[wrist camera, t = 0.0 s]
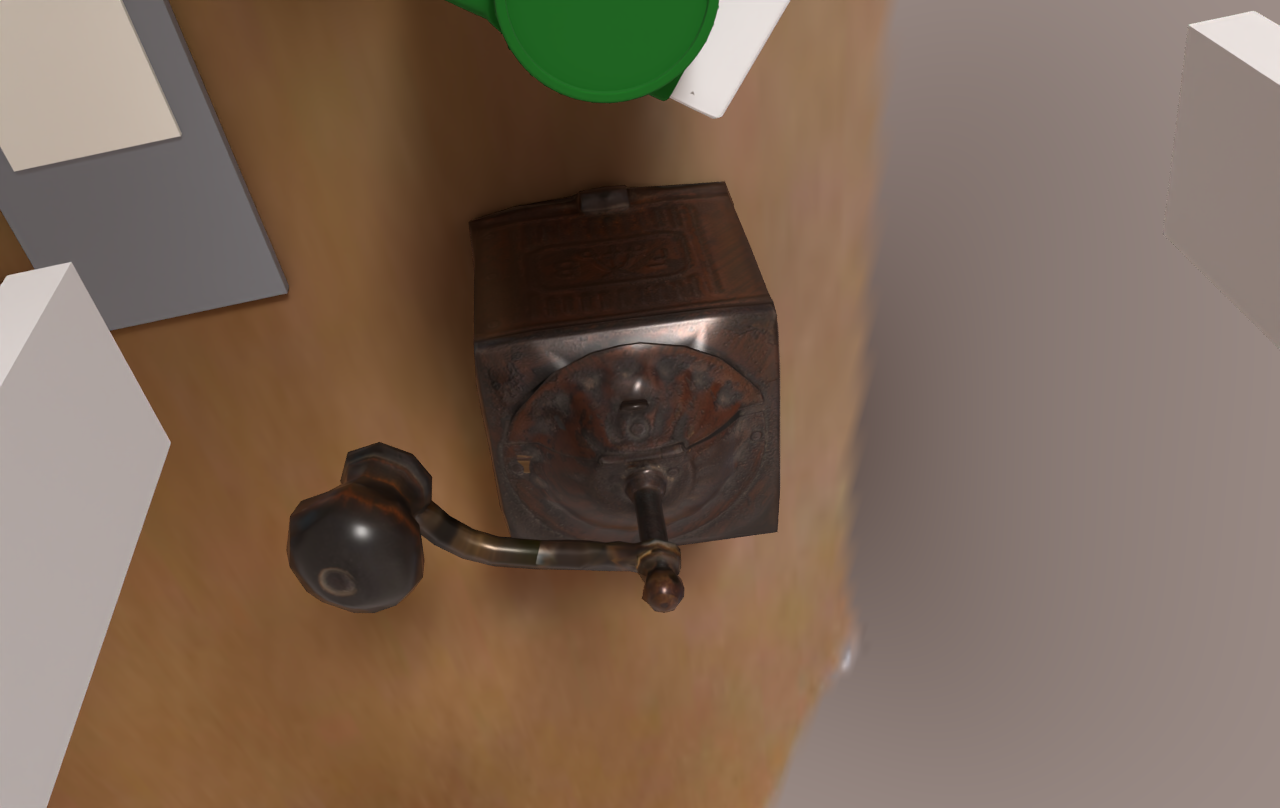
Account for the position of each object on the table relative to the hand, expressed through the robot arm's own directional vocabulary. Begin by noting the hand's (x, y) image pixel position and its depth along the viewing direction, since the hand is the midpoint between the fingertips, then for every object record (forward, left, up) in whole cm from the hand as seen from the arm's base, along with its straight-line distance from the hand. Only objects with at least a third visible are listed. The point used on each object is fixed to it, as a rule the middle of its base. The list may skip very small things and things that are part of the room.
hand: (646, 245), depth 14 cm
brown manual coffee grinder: (+18, -4, -28) cm, 34 cm away
